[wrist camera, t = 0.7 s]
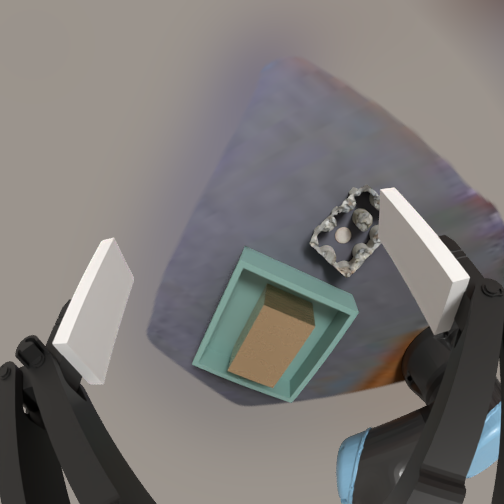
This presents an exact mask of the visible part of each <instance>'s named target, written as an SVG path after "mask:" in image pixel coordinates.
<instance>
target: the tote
mask: <svg viewBox="0 0 504 504" xmlns="http://www.w3.org/2000/svg"><path fill="white" fill-rule="evenodd" d="M267 283H268V284H270V285H272V286H274V287H277V288H279V289H281V290H283V291H286V292H288V293H290V294H293V295H295V296H297V297H299V298H302V299H304V300H306V301H309V302H311V303H312V304H313V311H314V319H315V328H314V329H313V331H312V333H311V334H310V336H309V337H308V339H307V340H306V342H305V343H304V345H303V346H302V347H301V349H300V350H299V352H298V353H297V355H296V356H295V358H294V359H293V361H292V362H291V364H290V365H289V366H288V368H287V369H286V371H285V372H284V373H283V375H282V376H281V378H280V379H279V380H278V382H277V383H276V385H275V386H274V387H273V388H271V387H268V386H265V385H263V384H260V383H257V382H255V381H252V380H249V379H247V378H244V377H242V376H239V375H237V374H234V373H232V372H229V371H227V370H228V366H229V363H230V359H231V355H232V351H233V347H234V345H235V343H236V341H237V339H238V337H239V335H240V334H241V332H242V330H243V328H244V326H245V324H246V322H247V320H248V319H249V317H250V315H251V313H252V311H253V309H254V307H255V305H256V303H257V302H258V300H259V298H260V296H261V294H262V292H263V290H264V288H265V286H266V284H267ZM358 313H359V312H358V309H357V306H356V304H355V301H354V298H353V296H352V294H350V293H347V292H345V291H343V290H341V289H339V288H336V287H334V286H332V285H330V284H328V283H326V282H323V281H321V280H319V279H317V278H315V277H312V276H310V275H308V274H306V273H304V272H301V271H299V270H297V269H295V268H293V267H290V266H288V265H286V264H284V263H282V262H279V261H277V260H275V259H273V258H271V257H268V256H266V255H264V254H262V253H260V252H257V251H255V250H253V249H251V248H249V247H246V246H245V247H244V249H243V252H242V254H241V256H240V258H239V260H238V263H237V265H236V267H235V269H234V271H233V273H232V276H231V278H230V280H229V282H228V284H227V286H226V289H225V291H224V293H223V295H222V297H221V300H220V302H219V304H218V306H217V308H216V310H215V313H214V315H213V317H212V319H211V321H210V324H209V326H208V328H207V330H206V332H205V335H204V337H203V339H202V341H201V343H200V346H199V348H198V351H197V353H196V355H195V358H194V360H193V363H192V365H194V366H197V367H199V368H201V369H203V370H206V371H208V372H211V373H213V374H215V375H218V376H220V377H223V378H225V379H228V380H230V381H233V382H235V383H238V384H240V385H243V386H246V387H248V388H251V389H254V390H256V391H259V392H262V393H265V394H267V395H270V396H273V397H276V398H279V399H282V400H285V401H288V402H291V403H292V402H293V401H294V400H295V398H296V397H297V396H298V395H299V393H300V392H301V391H302V390H303V388H304V387H305V386H306V385H307V383H308V382H309V381H310V379H311V378H312V377H313V376H314V374H315V373H316V372H317V370H318V369H319V368H320V366H321V365H322V364H323V362H324V361H325V360H326V358H327V357H328V356H329V354H330V353H331V352H332V350H333V349H334V347H335V346H336V345H337V343H338V342H339V340H340V339H341V338H342V336H343V335H344V333H345V332H346V331H347V329H348V328H349V326H350V325H351V323H352V322H353V320H354V319H355V317H356V316H357V314H358Z"/></svg>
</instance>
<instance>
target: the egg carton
mask: <svg viewBox="0 0 504 504" xmlns="http://www.w3.org/2000/svg"><path fill="white" fill-rule="evenodd" d="M366 191H369V193H370V197H369V200H370V203H371V205H373V206H374V207H375V208H376V209H377V210H380V196H379V195H378V194H377V193H376V192H375V191H374V190H373V189H372V188H371V187H369V186H368V185H365V186H363V187H361V188H359V189H356V188H354V187H353V188H352V189H351V190H350V191H349V194H350V196H349V197H348V199H346V200H345V201H344V202H343V204H342V205H341V206H340V207H337V206H336V207H335V208H334V209H333V210H332V211H331V213H332V214H331V215H330V216H329V217H327V218H326V219H325V220H324V221H323V222H322V224H321V225H320V226H317V227H316V228H315V229H314V234H313V236H312V239H311V241H310V245H311V246H312V247H313V248H314V249H316V250H317V251H318V252H319V253H320V254H321V255H322V256H323V257H324V258H325V259H326V260H327V261H328V262H329V263H330V264H331V265H333V266H334V267H335V268H336V269H337V270H338V271H339V272H340V273H341V274H343V275H344V276H345V277H346V278H348V277H349V276H350V275H351V274H353V273H354V272H355V271H356V270H357V269H358V268H359V267H360V266H361V265H362V264H363V263H364V260H365V259H366V258H367V257H368V256H370V255H371V254H372V253H373V251H374V250H375V249H376V248H377V247H378V246H379V245H380V244H381V243H382V242H381V241H380V239H379V238H378V229H379V225H375V226H373V227H372V228H371V229H370V232H369V235H370V240H369V241H368V243H367V244H363V243H359V244H356V245H355V246H354V247H353V250H352V253H353V256H354V257H353V258H352V260H350V261H349V262H347V261H340V262H338V263H336V254H335V252H334V250H333V248H332V247H330V246H328V245H324V246H321V247H318V245H319V244H318V239H317V235H318V234H319V233H320V232H321V231H324V232H329V231H331V230H333V228H334V227H335V226H337V225H336V219H335V218H334V215H337V214H338V213H341V212H345V213H348V212H349V211H351V210H353V209H354V207H355V205H356V202H355V200H354V197H355V196H360V195H361V192H366ZM338 211H339V212H338ZM352 220H353V222H354V223H355V225H356V226H357V227H358V228H359V229H360V230H361V231H363V232H365V231H367V230H368V228H369V227H370V226H371V225H372V220H373V219H372V216H371V214H370V213H369V212H368V211H367V210H365V209H362V208H359V209H356V210H355V211H354V212H353V215H352ZM350 238H351V231H350V230H349V229H348V228H346V227H341V228H339V229H338V230H337V231H336V233H335V239H336V241H337V242H339V243H347V242H348V241H349V240H350Z"/></svg>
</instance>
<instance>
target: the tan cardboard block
mask: <svg viewBox="0 0 504 504" xmlns="http://www.w3.org/2000/svg"><path fill="white" fill-rule="evenodd" d="M314 328H315V319H314V311H313V304H312V303H311V302H309V301H306V300H304V299H302V298H299V297H297V296H295V295H293V294H290V293H288V292H286V291H283V290H281V289H279V288H277V287H274V286H272V285H270V284H268V283H267V284H266V286H265V288H264V290H263V292H262V294H261V296H260V298H259V300H258V302H257V303H256V305H255V307H254V309H253V311H252V313H251V315H250V317H249V319H248V320H247V322H246V324H245V326H244V328H243V330H242V332H241V334H240V335H239V337H238V339H237V341H236V343H235V345H234V347H233V351H232V355H231V359H230V363H229V366H228V370H227V371H229V372H232V373H234V374H237V375H239V376H242V377H244V378H247V379H249V380H252V381H255V382H257V383H260V384H263V385H265V386H268V387H271V388H273V387H274V386H275V385H276V383H277V382H278V380H279V379H280V378H281V376H282V375H283V373H284V372H285V371H286V369H287V368H288V366H289V365H290V364H291V362H292V361H293V359H294V358H295V356H296V355H297V353H298V352H299V350H300V349H301V347H302V346H303V345H304V343H305V342H306V340H307V339H308V337H309V336H310V334H311V333H312V331H313V329H314Z"/></svg>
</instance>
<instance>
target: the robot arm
mask: <svg viewBox="0 0 504 504" xmlns="http://www.w3.org/2000/svg"><path fill="white" fill-rule="evenodd" d="M378 238H379V239H380V241H381V242H382V244H383V246H384V247H385V249H386V250H387V252H388V254H389V255H390V257H391V259H392V260H393V262H394V264H395V265H396V267H397V269H398V270H399V272H400V274H401V275H402V277H403V279H404V280H405V282H406V284H407V286H408V287H409V289H410V291H411V293H412V294H413V296H414V298H415V300H416V302H417V303H418V305H419V307H420V309H421V311H422V313H423V315H424V316H425V318H426V320H427V322H428V324H429V326H430V327H428V328H427V329H425V330H424V331H423V332H422V333H420V334H419V335H418V336H417V337H416V338H415V339H414V341H413V342H412V343H411V344H410V346H409V347H408V349H407V351H406V353H405V355H404V358H403V361H402V373H403V376H404V379H405V381H406V383H407V385H408V386H409V387H410V389H411V390H412V391H413V392H414V393H416V394H417V395H418V396H419V397H420V398H421V399H422V400H423V401H424V402H425V403H426V405H427V406H425V407H423V408H420V409H418V410H416V411H413V412H411V413H409V414H407V415H404V416H402V417H400V418H397V419H395V420H392V421H390V422H387V423H385V424H382V425H380V426H377V427H374V428H368V429H367V430H366V431H363V432H361V433H358V434H356V435H353V436H350V437H348V438H347V439H345V440H344V441H343V443H342V444H341V446H340V448H339V451H338V456H337V467H336V475H337V487H338V494H339V497H340V498H341V503H342V504H462V503H463V501H464V498H465V494H466V488H465V485H464V484H465V479H466V478H470V477H473V476H475V475H477V474H478V473H480V472H482V471H483V470H485V469H486V468H488V467H489V466H490V465H491V464H493V463H494V462H495V461H496V460H497V459H498V464H497V473H496V480H495V486H494V492H493V497H492V504H504V289H503V287H502V285H500V284H499V283H498V282H497V281H495V280H493V279H488V278H484V277H483V276H482V275H481V273H480V272H479V271H478V269H477V268H476V267H475V266H474V264H473V263H472V262H471V261H470V259H469V258H468V257H466V254H465V253H464V252H463V251H461V248H460V247H459V246H458V245H457V243H456V242H455V241H453V240H452V239H450V238H449V237H447V236H446V235H443V236H437V235H436V234H435V232H434V231H433V230H432V229H431V228H430V226H429V225H428V224H427V223H426V222H425V221H424V220H423V218H422V217H421V216H420V215H419V214H418V213H417V212H416V210H415V209H414V208H413V207H412V206H411V205H410V204H409V203H408V202H407V201H406V200H405V198H404V197H403V196H402V195H401V194H400V193H399V192H398V191H397V190H396V189H395V188H387V189H380V210H379V229H378ZM133 282H134V277H133V275H132V273H131V271H130V269H129V267H128V265H127V263H126V261H125V259H124V257H123V255H122V253H121V251H120V249H119V247H118V245H117V242H116V240H115V238H110V239H106V240H102V241H101V243H100V245H99V246H98V248H97V250H96V252H95V254H94V256H93V258H92V260H91V261H90V263H89V265H88V267H87V270H86V271H85V273H84V275H83V277H82V279H81V281H80V283H79V285H78V287H77V290H76V291H75V293H74V296H73V298H72V299H71V300H69V301H68V302H67V303H66V304H65V305H64V307H63V308H62V310H61V312H60V314H59V318H58V319H57V321H56V323H55V326H54V327H53V330H52V332H51V334H50V337H49V339H48V341H47V344H46V346H45V345H44V344H43V343H42V342H41V341H40V340H39V339H38V337H37V336H34V335H31V336H28V337H26V338H25V339H24V340H22V341H21V342H20V344H19V345H18V347H17V349H16V355H15V356H16V358H18V359H19V361H20V362H21V363H22V364H23V365H24V366H23V367H20V368H18V367H17V366H16V365H15V364H14V363H13V362H10V361H9V362H6V363H5V364H3V365H2V366H1V367H0V497H1V503H2V504H70V500H69V497H68V493H67V489H66V485H65V481H64V477H63V472H62V469H63V471H64V473H65V475H66V477H67V480H68V482H69V484H70V486H71V488H72V490H73V492H74V493H75V496H76V498H77V499H78V501H79V503H80V504H156V502H155V501H154V500H153V499H152V497H151V496H150V495H149V493H148V492H147V491H146V489H145V488H144V487H143V485H142V484H141V482H140V481H139V480H138V478H137V477H136V475H135V474H134V472H133V471H132V470H131V468H130V467H129V465H128V464H127V462H126V461H125V459H124V458H123V456H122V454H121V453H120V451H119V450H118V448H117V447H116V445H115V443H114V442H113V440H112V438H111V437H110V435H109V433H108V432H107V430H106V428H105V426H104V425H103V423H102V421H101V419H100V417H99V416H98V414H97V412H96V410H95V408H94V406H93V404H92V402H91V401H90V399H89V397H88V395H87V393H86V391H85V389H84V387H83V386H82V385H81V384H80V381H81V378H82V377H83V378H84V379H85V380H86V381H87V382H88V383H89V384H104V381H105V377H106V373H107V369H108V365H109V361H110V358H111V354H112V351H113V347H114V343H115V340H116V336H117V333H118V329H119V326H120V322H121V319H122V316H123V313H124V309H125V306H126V303H127V300H128V297H129V294H130V291H131V288H132V285H133ZM498 361H500V377H501V383H500V382H499V381H498V379H497V377H496V373H497V367H498ZM23 406H24V407H25V408H26V413H24V410H23ZM61 467H62V468H61Z"/></svg>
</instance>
